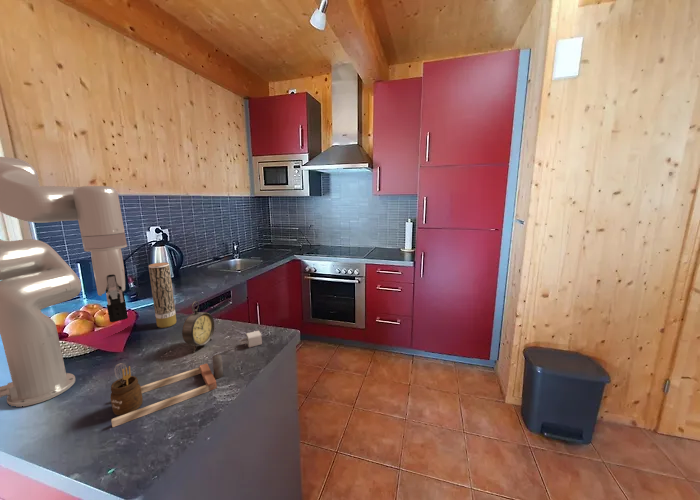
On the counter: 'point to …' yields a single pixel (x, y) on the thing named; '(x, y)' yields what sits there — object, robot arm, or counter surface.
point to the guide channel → (157, 406)
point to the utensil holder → (126, 393)
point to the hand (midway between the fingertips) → (118, 313)
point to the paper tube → (162, 294)
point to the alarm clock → (198, 328)
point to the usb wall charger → (252, 339)
